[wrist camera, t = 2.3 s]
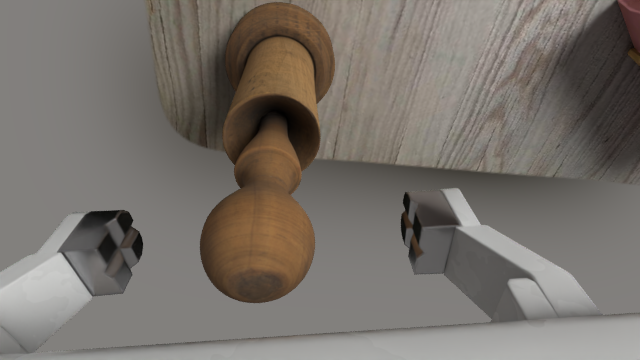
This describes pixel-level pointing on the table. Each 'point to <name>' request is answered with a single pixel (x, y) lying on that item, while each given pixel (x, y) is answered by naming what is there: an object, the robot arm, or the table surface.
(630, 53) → the book
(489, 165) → the table surface
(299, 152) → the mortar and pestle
